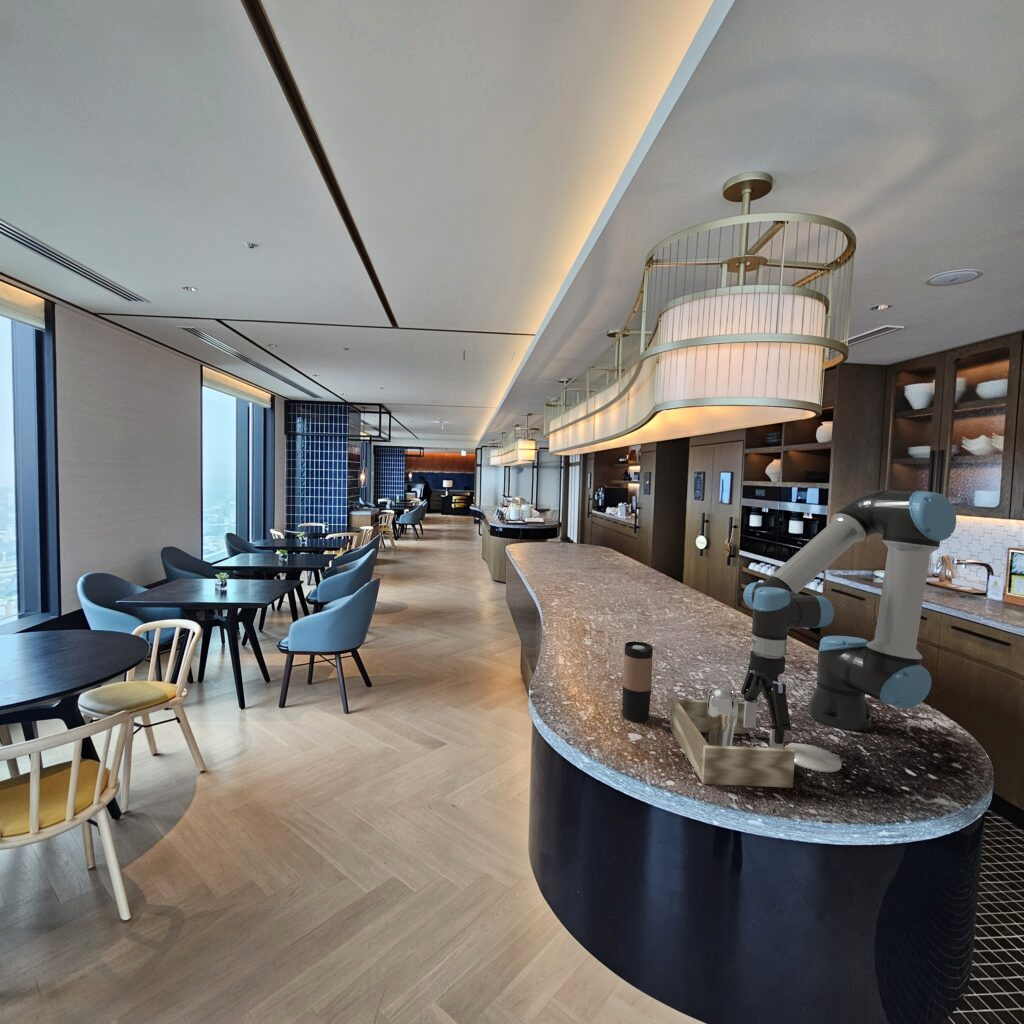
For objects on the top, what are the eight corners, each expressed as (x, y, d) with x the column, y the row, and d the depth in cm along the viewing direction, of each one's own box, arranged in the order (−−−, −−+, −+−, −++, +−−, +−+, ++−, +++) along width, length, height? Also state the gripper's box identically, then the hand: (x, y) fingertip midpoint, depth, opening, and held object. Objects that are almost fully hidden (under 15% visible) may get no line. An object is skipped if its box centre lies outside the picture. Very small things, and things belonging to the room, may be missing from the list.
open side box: (743, 731, 139) (745, 701, 138) (792, 787, 114) (795, 751, 113) (670, 728, 139) (671, 699, 138) (703, 783, 114) (705, 748, 113)
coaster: (822, 746, 132) (823, 744, 132) (853, 773, 120) (853, 771, 120) (774, 744, 132) (774, 742, 132) (799, 771, 120) (800, 768, 120)
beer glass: (703, 758, 124) (707, 696, 123) (704, 745, 131) (707, 686, 130) (735, 765, 122) (739, 702, 121) (734, 751, 128) (738, 691, 127)
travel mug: (629, 708, 151) (632, 639, 150) (654, 716, 146) (657, 645, 145) (616, 716, 145) (619, 645, 144) (642, 725, 140) (645, 652, 139)
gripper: (730, 637, 137) (725, 716, 138) (777, 672, 112) (770, 768, 113) (759, 638, 137) (754, 717, 138) (813, 673, 112) (805, 770, 113)
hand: (761, 740), depth 126 cm, fingers open, 13 cm apart
